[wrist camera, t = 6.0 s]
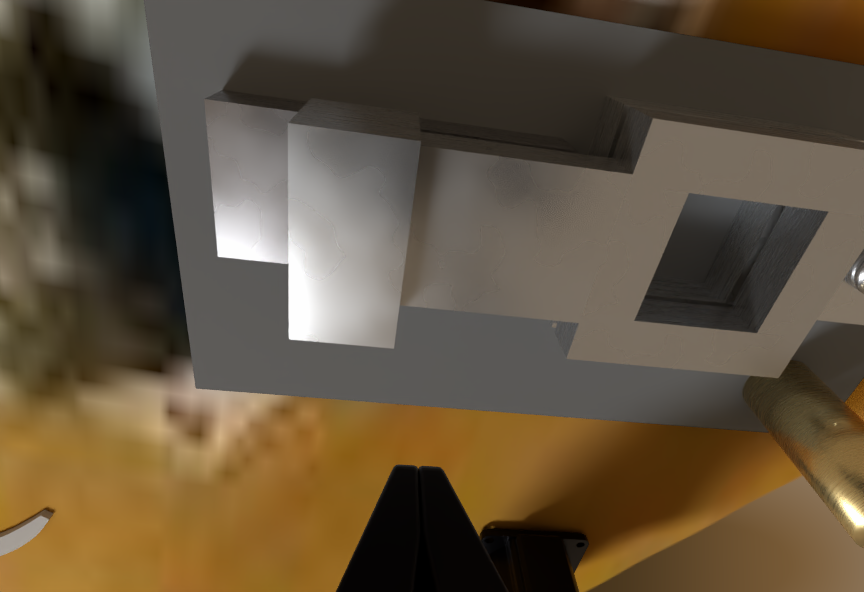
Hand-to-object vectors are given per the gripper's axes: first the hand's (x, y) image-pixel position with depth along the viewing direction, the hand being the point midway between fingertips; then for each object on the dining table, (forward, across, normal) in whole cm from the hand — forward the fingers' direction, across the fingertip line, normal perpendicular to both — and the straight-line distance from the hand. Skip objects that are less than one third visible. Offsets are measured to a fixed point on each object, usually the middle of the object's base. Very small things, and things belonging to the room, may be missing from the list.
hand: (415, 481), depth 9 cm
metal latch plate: (+9, -5, -2) cm, 10 cm away
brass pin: (+11, -18, +6) cm, 21 cm away
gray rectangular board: (+12, -7, 0) cm, 13 cm away
